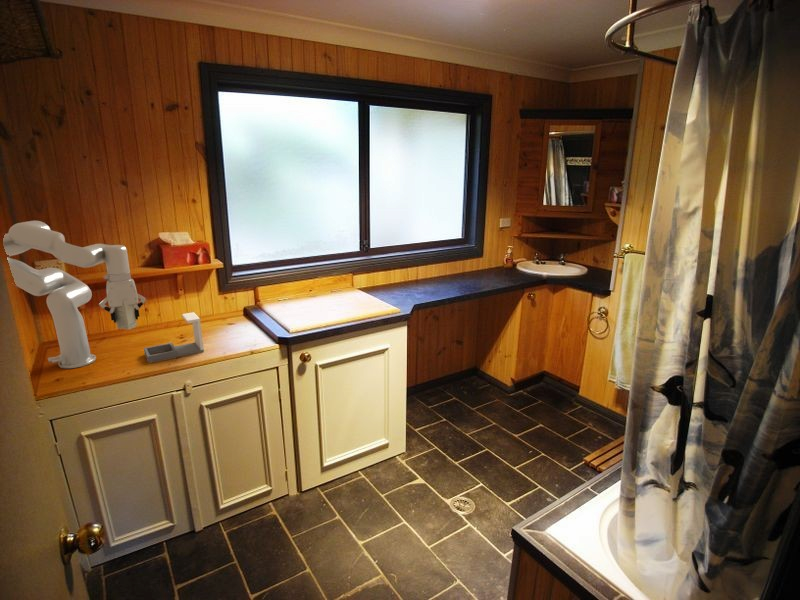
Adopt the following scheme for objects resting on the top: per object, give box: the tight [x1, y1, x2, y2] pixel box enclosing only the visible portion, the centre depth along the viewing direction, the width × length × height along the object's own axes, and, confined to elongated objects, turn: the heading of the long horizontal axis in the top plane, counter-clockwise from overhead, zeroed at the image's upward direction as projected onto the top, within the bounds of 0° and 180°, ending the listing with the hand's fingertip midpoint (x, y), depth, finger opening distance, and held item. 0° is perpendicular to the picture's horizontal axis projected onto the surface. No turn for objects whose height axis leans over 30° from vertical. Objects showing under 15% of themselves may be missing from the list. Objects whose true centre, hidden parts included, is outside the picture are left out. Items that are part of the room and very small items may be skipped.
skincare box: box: [114, 300, 138, 331], centre depth 181 cm, size 6×4×12 cm
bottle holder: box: [143, 311, 205, 364], centre depth 193 cm, size 22×11×15 cm, turn 126°
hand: (125, 319), depth 182 cm, fingers closed on skincare box, 7 cm apart
